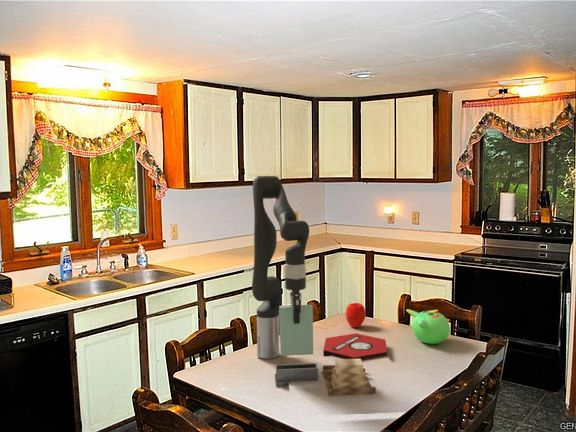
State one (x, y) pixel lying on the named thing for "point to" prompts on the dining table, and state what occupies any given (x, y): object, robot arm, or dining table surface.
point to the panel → (296, 331)
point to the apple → (355, 314)
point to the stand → (295, 373)
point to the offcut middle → (349, 377)
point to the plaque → (355, 347)
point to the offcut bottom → (348, 384)
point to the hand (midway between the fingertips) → (296, 322)
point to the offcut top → (348, 366)
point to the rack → (327, 378)
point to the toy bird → (430, 326)
